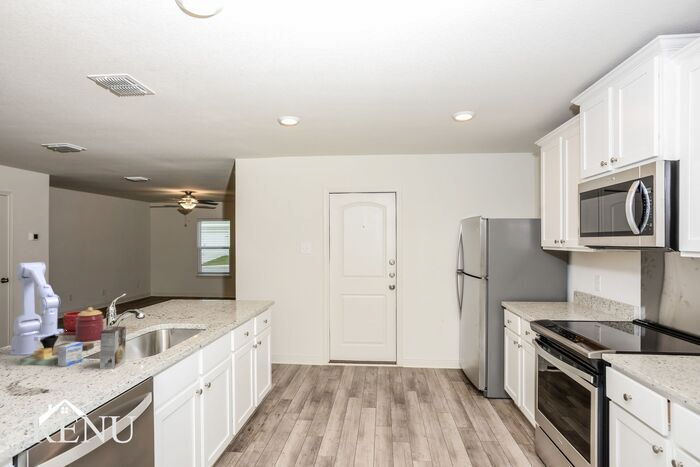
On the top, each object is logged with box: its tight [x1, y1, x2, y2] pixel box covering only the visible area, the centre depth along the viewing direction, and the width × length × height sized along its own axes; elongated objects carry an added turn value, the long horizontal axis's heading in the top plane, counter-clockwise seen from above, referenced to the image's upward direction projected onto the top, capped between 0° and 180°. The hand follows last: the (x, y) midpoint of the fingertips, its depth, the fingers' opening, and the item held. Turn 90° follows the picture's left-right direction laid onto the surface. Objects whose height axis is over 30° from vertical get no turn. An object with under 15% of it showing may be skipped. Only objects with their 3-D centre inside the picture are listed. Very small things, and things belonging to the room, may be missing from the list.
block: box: [33, 347, 52, 359], centre depth 166 cm, size 4×4×4 cm
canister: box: [74, 306, 105, 343], centre depth 206 cm, size 13×13×18 cm
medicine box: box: [57, 341, 83, 367], centre depth 165 cm, size 8×4×9 cm, turn 168°
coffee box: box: [99, 325, 127, 370], centre depth 163 cm, size 9×6×16 cm
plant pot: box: [62, 310, 83, 336], centre depth 218 cm, size 13×13×12 cm
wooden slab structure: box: [19, 342, 95, 366], centre depth 176 cm, size 15×26×2 cm, turn 1°
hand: (48, 352), depth 169 cm, fingers closed
